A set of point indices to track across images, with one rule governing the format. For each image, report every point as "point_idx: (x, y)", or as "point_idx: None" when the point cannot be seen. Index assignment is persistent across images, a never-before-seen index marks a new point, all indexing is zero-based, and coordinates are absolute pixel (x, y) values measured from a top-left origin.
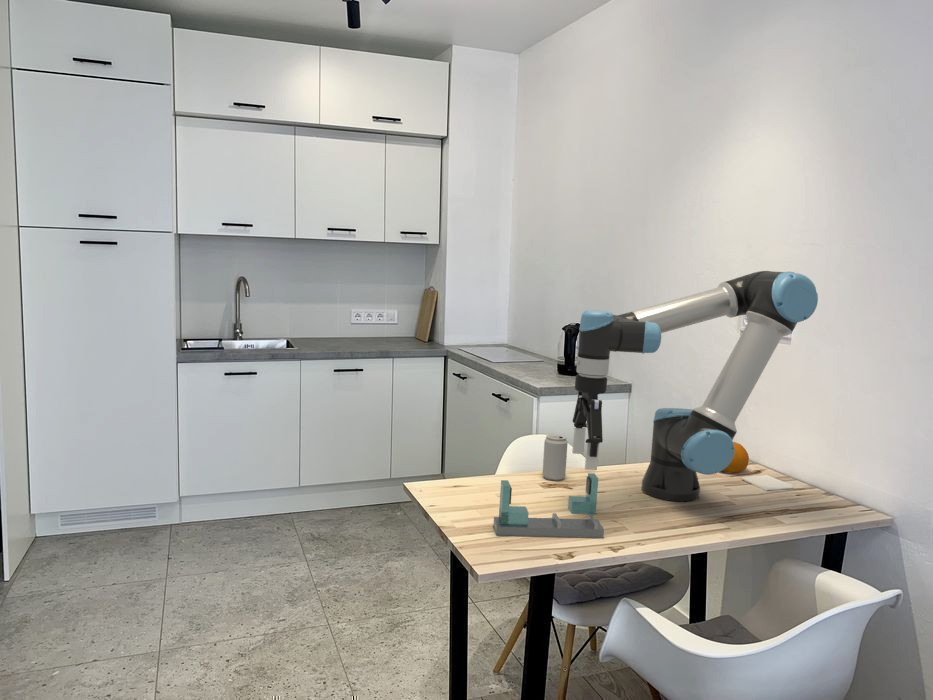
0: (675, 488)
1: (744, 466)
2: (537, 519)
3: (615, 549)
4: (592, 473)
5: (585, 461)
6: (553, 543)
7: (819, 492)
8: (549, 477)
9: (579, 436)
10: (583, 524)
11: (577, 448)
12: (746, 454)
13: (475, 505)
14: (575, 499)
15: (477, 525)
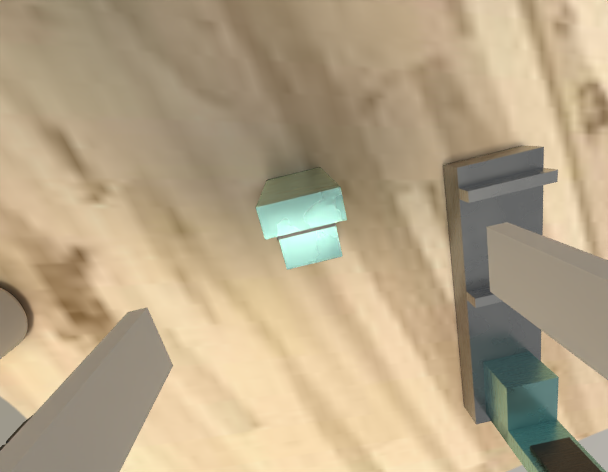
0: None
1: None
2: (481, 334)
3: (605, 111)
4: (261, 217)
5: (526, 315)
6: None
7: None
8: (25, 329)
9: (91, 448)
10: (507, 212)
11: (147, 368)
12: None
13: (341, 456)
14: (316, 246)
15: (468, 432)
